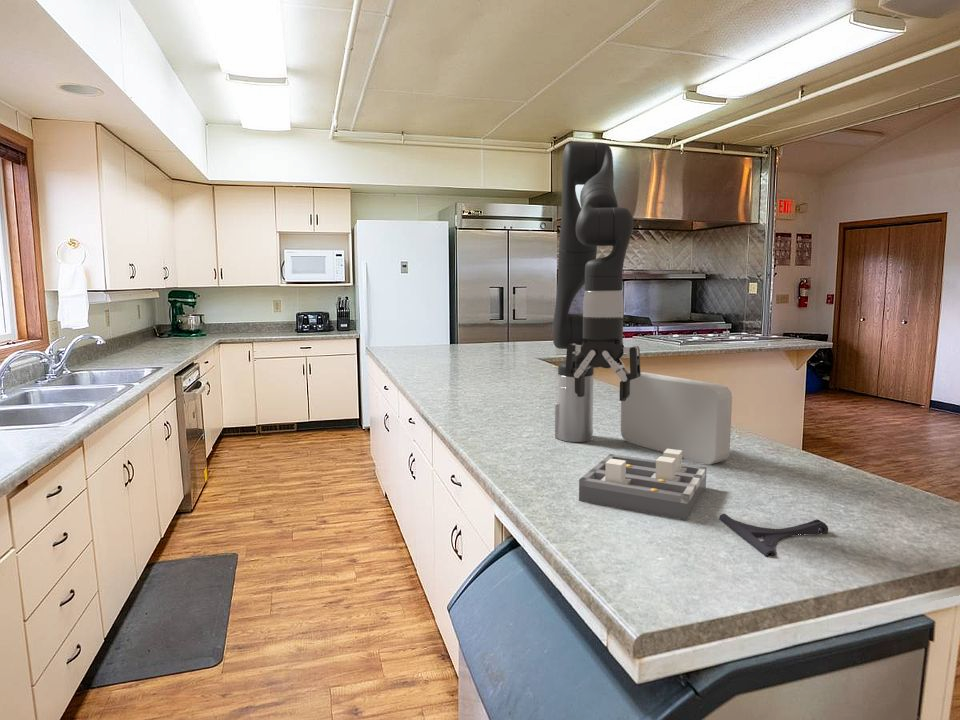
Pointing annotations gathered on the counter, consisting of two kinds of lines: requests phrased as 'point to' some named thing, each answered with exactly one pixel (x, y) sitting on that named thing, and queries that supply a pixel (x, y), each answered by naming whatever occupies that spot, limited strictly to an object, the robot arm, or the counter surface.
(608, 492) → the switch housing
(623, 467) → the switch front
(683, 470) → the switch back
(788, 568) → the counter surface
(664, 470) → the switch middle
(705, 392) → the grey block
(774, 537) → the bracket
